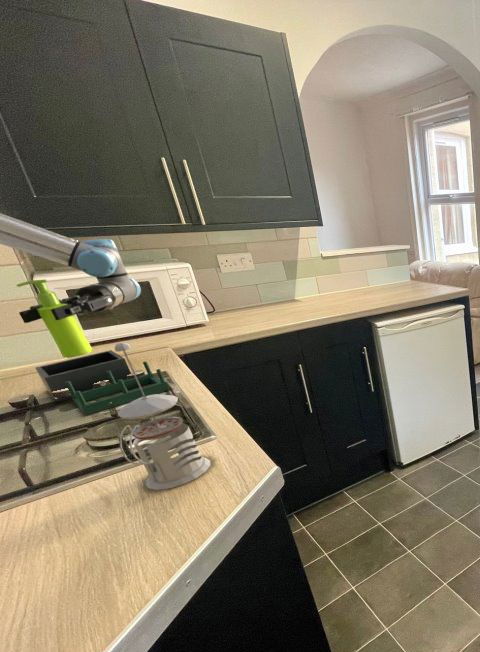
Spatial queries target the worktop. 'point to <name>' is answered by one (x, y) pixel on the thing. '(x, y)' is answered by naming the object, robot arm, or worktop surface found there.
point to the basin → (83, 372)
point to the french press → (163, 467)
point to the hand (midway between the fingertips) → (39, 316)
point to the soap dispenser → (60, 323)
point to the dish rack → (115, 387)
